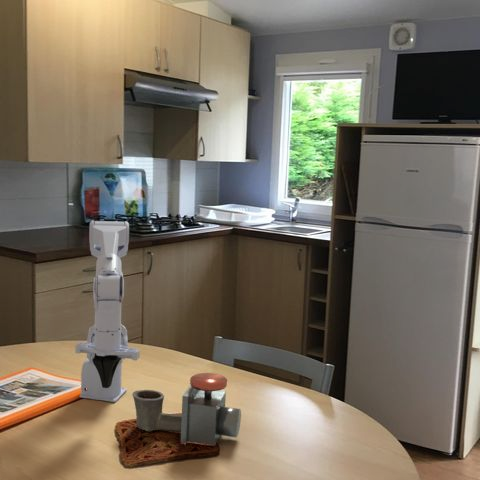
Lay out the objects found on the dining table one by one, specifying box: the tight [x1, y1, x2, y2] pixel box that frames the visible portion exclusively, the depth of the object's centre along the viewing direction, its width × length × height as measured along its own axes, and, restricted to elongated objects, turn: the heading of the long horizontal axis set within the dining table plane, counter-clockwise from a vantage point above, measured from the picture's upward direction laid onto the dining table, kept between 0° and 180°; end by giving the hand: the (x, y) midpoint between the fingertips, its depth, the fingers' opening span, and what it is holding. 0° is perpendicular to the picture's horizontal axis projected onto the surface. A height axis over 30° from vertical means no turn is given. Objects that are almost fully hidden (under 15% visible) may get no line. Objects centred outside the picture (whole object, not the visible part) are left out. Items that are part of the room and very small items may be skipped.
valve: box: [180, 372, 242, 445], centre depth 136 cm, size 12×11×13 cm
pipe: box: [132, 389, 182, 433], centre depth 138 cm, size 6×13×8 cm, turn 77°
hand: (106, 386), depth 140 cm, fingers closed
